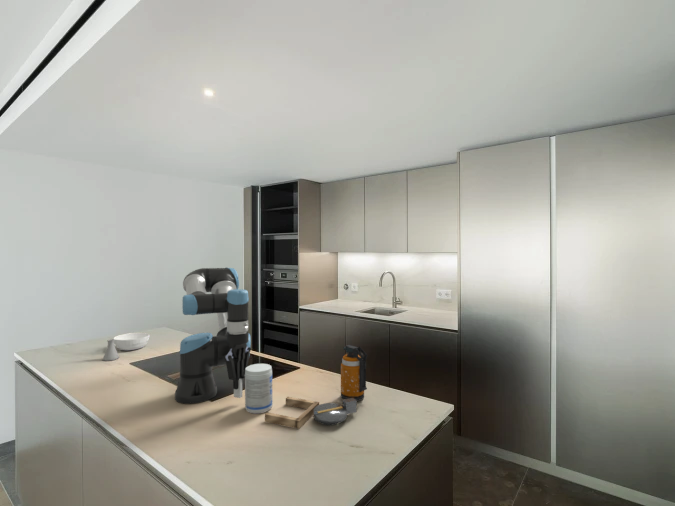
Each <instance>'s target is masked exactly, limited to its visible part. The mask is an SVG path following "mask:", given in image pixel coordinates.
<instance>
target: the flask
mask: <svg viewBox="0 0 675 506" xmlns="http://www.w3.org/2000/svg"><path fill="white" fill-rule="evenodd" d="M114 341H115V339H113V338H111V339H108V340H107V341H106V342H107V347H106V350H105V352H104V355H103V357H102V361H105V362H107V361H108V362H109V361H115V360H118V359H119V358H120V355H119V352H118V351H117V347H116V345H115V344H114Z"/></svg>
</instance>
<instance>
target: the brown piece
mask: <svg viewBox="0 0 675 506" xmlns="http://www.w3.org/2000/svg"><path fill="white" fill-rule="evenodd" d="M318 405H320V401H316V400H310V399H303V398H298V397H293V396H286V397H285V406H289V407H295V408H300V409H306V410H304V411H303V412H302V413H301V414H300V415H299V416H298V417H293V416H289V415H283V414H280V413H279V414H278V413H273V412H269V411H267V412H265V413H264V422H265V423H268V424H274V425H279V426H284V427H288V428H293V429H297V430H300V429H302V427H303V426H304V425H305V424H306V423H308V421H309V420H310V419H312V417H314V408H315V407H316V406H318Z"/></svg>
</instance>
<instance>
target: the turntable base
mask: <svg viewBox="0 0 675 506" xmlns="http://www.w3.org/2000/svg"><path fill="white" fill-rule="evenodd" d="M321 424H322V425H325V426H336V425H338V424H339V423H337V424H323V423H321Z"/></svg>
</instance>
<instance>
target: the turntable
mask: <svg viewBox="0 0 675 506" xmlns="http://www.w3.org/2000/svg"><path fill="white" fill-rule="evenodd" d="M353 413H354V414H355V413H357V401H356V400H355V399H354V398H349V399H342V404H340V403H335V402H327V403H326V402H325V403H320V404H319V405H318V406H316V407H315V408H314V415H313V419H314V421H315V422H317V423H320V424H322V423H323V424H322V425H324V424H336V425H338V424H341V423H342V422H344V421H346V419H347V417H348V415H349V414H350V415H351V414H353ZM337 423H338V424H337Z"/></svg>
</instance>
